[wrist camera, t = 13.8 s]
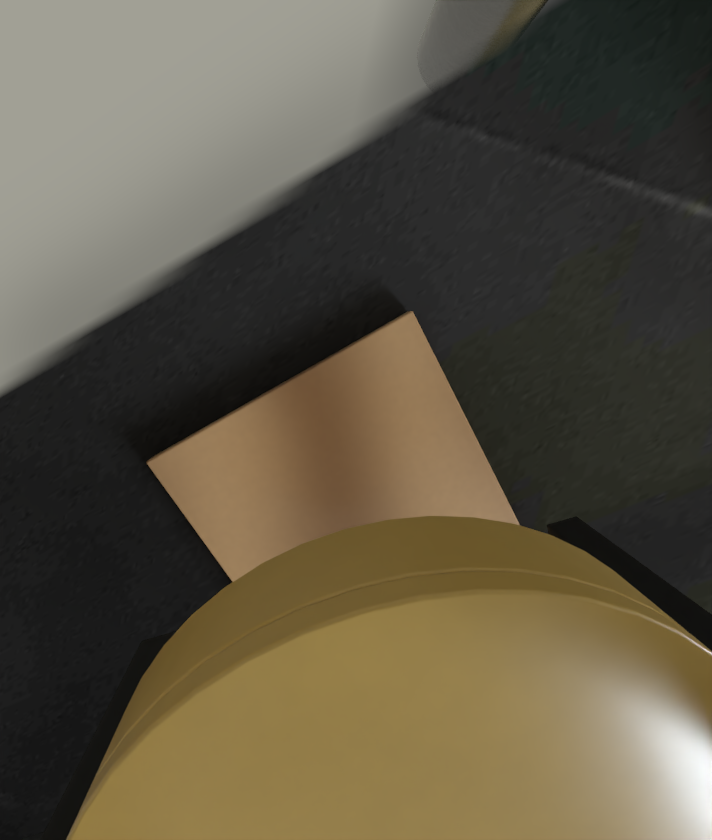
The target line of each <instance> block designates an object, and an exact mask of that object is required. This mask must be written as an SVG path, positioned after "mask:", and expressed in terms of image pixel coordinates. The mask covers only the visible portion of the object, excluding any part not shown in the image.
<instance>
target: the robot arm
mask: <svg viewBox="0 0 712 840" xmlns="http://www.w3.org/2000/svg"><path fill="white" fill-rule="evenodd" d="M547 528H548V534H549V535H552V536H554V537H556V538H558V539H560V540H563V541H565V542H567V543H569V544H571V545H573V546H575V547H577V548H579V549H582V550H584V551H585V552H587V553H588V554H590V555H591V556H593V557H594V558H596V559H597V560H599V561H600V562H602V563H603V564H605V565H606V566H608V567H609V568H611V569H612V570H614V571H615V572H616V573H617V574H618V575H620V576H621V577H622V578H623V579H625V580H626V581H627V582H628V583H629V584H631V585H632V586H633V587H634V588H636V589H637V590H638V591H639V592H640V593H642V594H643V595H644V596H645V597H646V598H648V599H649V600H650V601H651V602H653V603H654V604H655V605H656V606H657V607H659V608H660V609H661V610H662V611H664V612H665V613H666V614H667V615H668V616H670V617H671V618H672V619H673V620H674V621H676V622H677V623H678V624H679V625H681V626H682V627H683V628H684V629H685V630H686V631H687V632H689V633H690V634H692V635H693V636H694V637H695V638H696V639H698V640H699V641H700V642H701V643H702V644H704V645H705V646H706V647H707V648H709V649H710V650H711V651H712V615H711V614H710V613H709V612H707V611H706V610H704V609H703V608H702V607H700V606H699V605H698V604H696V603H695V602H693V601H692V600H691V599H689V598H688V597H687V596H685V595H684V594H682V593H681V592H680V591H678V590H677V589H676V588H674V587H673V586H671V585H670V584H669V583H667V582H666V581H665V580H663V579H662V578H660V577H659V576H658V575H656V574H655V573H653V572H652V571H651V570H649V569H648V568H647V567H645V566H644V565H642V564H641V563H640V562H638V561H637V560H636V559H634V558H633V557H631V556H630V555H629V554H627V553H626V552H625V551H623V550H622V549H620V548H619V547H618V546H616V545H615V544H613V543H612V542H611V541H609V540H608V539H607V538H605V537H604V536H602V535H601V534H600V533H598V532H597V531H596V530H594V529H593V528H591V527H590V526H589V525H587V524H586V523H585V522H583V521H582V520H580V519H579V518H578V517H573V518H570V519H566V520H563V521H559V522H556V523H552V524H549V525H547ZM174 634H175V633H174V632H172V633H168V634H165V635H161V636H158V637H154V638H151V639H147V640H144V641H142V642H141V644H140V646H139V648H138V650H137V652H136V654H135V655H134V657H133V659H132V661H131V663H130V665H129V667H128V669H127V671H126V673H125V675H124V677H123V679H122V681H121V683H120V685H119V687H118V689H117V691H116V693H115V695H114V697H113V699H112V701H111V702H110V704H109V706H108V708H107V710H106V712H105V714H104V716H103V718H102V720H101V722H100V724H99V726H98V728H97V730H96V732H95V734H94V736H93V738H92V740H91V742H90V744H89V746H88V747H87V749H86V751H85V753H84V755H83V757H82V759H81V761H80V763H79V765H78V767H77V769H76V771H75V773H74V775H73V777H72V779H71V781H70V783H69V785H68V787H67V789H66V791H65V793H64V794H63V796H62V798H61V800H60V802H59V804H58V806H57V808H56V810H55V812H54V814H53V816H52V818H51V820H50V822H49V824H48V826H47V828H46V830H45V832H42V833H39V834H36V835H32V836H29V837H26V838H23V839H22V840H66V839H67V837H68V835H69V832H70V830H71V828H72V826H73V824H74V821H75V819H76V817H77V815H78V813H79V811H80V808H81V806H82V804H83V802H84V800H85V797H86V795H87V793H88V791H89V789H90V787H91V784H92V782H93V780H94V778H95V776H96V773H97V771H98V769H99V767H100V765H101V762H102V760H103V758H104V756H105V754H106V752H107V749H108V747H109V745H110V743H111V741H112V738H113V736H114V734H115V732H116V730H117V728H118V725H119V723H120V721H121V719H122V717H123V714H124V712H125V710H126V708H127V706H128V704H129V702H130V700H131V698H132V696H133V694H134V692H135V690H136V688H137V686H138V684H139V682H140V680H141V678H142V676H143V675H144V674H145V672H146V671H147V669H148V668H149V666H150V665H151V663H152V662H153V660H154V659H155V658H156V656H157V655H158V653H159V652H160V650H161V649H162V647H163V646H164V645H165V644H166V643H167V642H168V640H169V639H170V638H171V637H172V636H173V635H174Z"/></svg>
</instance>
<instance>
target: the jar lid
mask: <svg viewBox="0 0 712 840" xmlns="http://www.w3.org/2000/svg"><path fill="white" fill-rule="evenodd" d="M66 840H712V651H711V650H710V649H709V648H707V647H706V646H705V645H704V644H702V643H701V642H700V641H699V640H698V639H696V638H695V637H694V636H693V635H692V634H690V633H689V632H687V631H686V630H685V629H684V628H683V627H682V626H681V625H679V624H678V623H677V622H676V621H674V620H673V619H672V618H671V617H670V616H668V615H667V614H666V613H665V612H664V611H662V610H661V609H660V608H659V607H657V606H656V605H655V604H654V603H653V602H651V601H650V600H649V599H648V598H646V597H645V596H644V595H643V594H642V593H640V592H639V591H638V590H637V589H636V588H634V587H633V586H632V585H631V584H629V583H628V582H627V581H626V580H625V579H623V578H622V577H621V576H620V575H618V574H617V573H616V572H615V571H614V570H612V569H611V568H609V567H608V566H606V565H605V564H603V563H602V562H600V561H599V560H597V559H596V558H594V557H593V556H591V555H590V554H588V553H587V552H585V551H584V550H582V549H579V548H577V547H575V546H573V545H571V544H569V543H567V542H565V541H563V540H560V539H558V538H556V537H554V536H552V535H549V534H546V533H543V532H539V531H536V530H533V529H530V528H526V527H523V526H520V525H517V524H512V523H506V522H500V521H494V520H488V519H482V518H476V517H454V516H423V517H412V518H401V519H390V520H384V521H380V522H375V523H370V524H366V525H361V526H356V527H352V528H347V529H343V530H340V531H338V532H335V533H332V534H329V535H326V536H323V537H320V538H317V539H314V540H311V541H308V542H306V543H303V544H301V545H299V546H297V547H294V548H292V549H290V550H288V551H286V552H284V553H282V554H280V555H278V556H276V557H274V558H272V559H270V560H268V561H266V562H263V563H262V564H260V565H259V566H257V567H256V568H254V569H252V570H251V571H249V572H248V573H246V574H245V575H243V576H242V577H240V578H239V579H237V580H235V581H234V582H232V583H231V584H229V585H228V586H226V587H225V588H223V589H222V590H221V591H220V592H219V593H217V594H216V595H215V596H214V597H213V598H212V599H210V600H209V601H208V602H207V603H206V604H204V605H203V606H202V607H201V608H200V609H198V610H197V611H196V612H195V613H194V614H192V615H191V616H190V618H189V619H188V620H187V621H186V622H185V623H184V624H183V625H182V626H181V627H180V628H179V630H178V631H177V632H176V633H175V634H174V635H173V636H172V637H171V638H170V639H169V640H168V642H167V643H166V644H165V645H164V646H163V647H162V649H161V650H160V652H159V653H158V655H157V656H156V658H155V659H154V660H153V662H152V663H151V665H150V666H149V668H148V669H147V671H146V672H145V674H144V675H143V676H142V678H141V680H140V682H139V684H138V686H137V688H136V690H135V692H134V694H133V696H132V698H131V700H130V702H129V704H128V706H127V708H126V710H125V712H124V714H123V717H122V719H121V721H120V723H119V725H118V728H117V730H116V732H115V734H114V736H113V738H112V741H111V743H110V745H109V747H108V749H107V752H106V754H105V756H104V758H103V760H102V762H101V765H100V767H99V769H98V771H97V773H96V776H95V778H94V780H93V782H92V784H91V787H90V789H89V791H88V793H87V795H86V797H85V800H84V802H83V804H82V806H81V808H80V811H79V813H78V815H77V817H76V819H75V821H74V824H73V826H72V828H71V830H70V832H69V835H68V837H67V839H66Z"/></svg>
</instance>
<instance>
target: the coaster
mask: <svg viewBox="0 0 712 840" xmlns="http://www.w3.org/2000/svg"><path fill="white" fill-rule="evenodd" d="M147 464H148V466H149V467H150V469H151V470H152V471H153V473H154V474H155V475H156V477H157V478H158V480H159V481H160V482H161V484H162V485H163V487H164V488H165V489H166V491H167V492H168V493H169V495H170V496H171V498H172V499H173V500H174V502H175V503H176V505H177V506H178V507H179V509H180V510H181V511H182V513H183V514H184V516H185V517H186V518H187V520H188V521H189V522H190V524H191V525H192V527H193V528H194V529H195V531H196V532H197V534H198V535H199V536H200V538H201V539H202V540H203V542H204V543H205V545H206V546H207V547H208V549H209V550H210V551H211V553H212V554H213V556H214V557H215V558H216V560H217V561H218V563H219V564H220V565H221V567H222V568H223V569H224V571H225V572H226V574H227V575H228V576H229V578H230V579H231V581H232V582H234V581H235V580H237V579H239V578H240V577H242V576H243V575H245V574H246V573H248V572H249V571H251V570H252V569H254V568H256V567H257V566H259V565H260V564H262V563H263V562H266V561H268V560H270V559H272V558H274V557H276V556H278V555H280V554H282V553H284V552H286V551H288V550H290V549H292V548H294V547H297V546H299V545H301V544H303V543H306V542H308V541H311V540H314V539H317V538H320V537H323V536H326V535H329V534H332V533H335V532H338V531H340V530H343V529H347V528H352V527H356V526H361V525H366V524H370V523H375V522H380V521H384V520H390V519H401V518H412V517H423V516H454V517H476V518H482V519H488V520H494V521H500V522H506V523H512V524H517V525H520V524H519V522H518V520H517V518H516V516H515V514H514V512H513V510H512V508H511V506H510V504H509V502H508V500H507V498H506V496H505V494H504V492H503V490H502V488H501V486H500V484H499V482H498V480H497V478H496V476H495V474H494V472H493V470H492V468H491V466H490V464H489V462H488V460H487V458H486V456H485V454H484V452H483V450H482V448H481V446H480V444H479V442H478V440H477V439H476V437H475V435H474V433H473V431H472V429H471V427H470V425H469V423H468V421H467V419H466V417H465V415H464V413H463V411H462V409H461V407H460V405H459V403H458V401H457V399H456V397H455V395H454V393H453V391H452V389H451V387H450V385H449V383H448V381H447V379H446V377H445V375H444V373H443V371H442V369H441V367H440V365H439V363H438V361H437V359H436V357H435V355H434V353H433V351H432V349H431V347H430V345H429V343H428V341H427V339H426V337H425V335H424V333H423V331H422V329H421V327H420V325H419V323H418V321H417V319H416V317H415V315H414V313H413V312H412V311H408V312H406V313H404V314H402V315H401V316H399V317H397V318H395V319H394V320H392V321H390V322H388V323H387V324H385V325H383V326H381V327H380V328H378V329H376V330H374V331H373V332H371V333H369V334H367V335H366V336H364V337H362V338H360V339H359V340H357V341H355V342H353V343H352V344H350V345H348V346H346V347H345V348H343V349H341V350H339V351H337V352H336V353H334V354H332V355H330V356H329V357H327V358H325V359H323V360H322V361H320V362H318V363H316V364H315V365H313V366H311V367H309V368H308V369H306V370H304V371H302V372H301V373H299V374H297V375H295V376H294V377H292V378H290V379H288V380H287V381H285V382H283V383H281V384H280V385H278V386H276V387H274V388H273V389H271V390H269V391H267V392H265V393H264V394H262V395H260V396H258V397H257V398H255V399H253V400H251V401H250V402H248V403H246V404H244V405H243V406H241V407H239V408H237V409H236V410H234V411H232V412H230V413H229V414H227V415H225V416H223V417H222V418H220V419H218V420H216V421H215V422H213V423H211V424H209V425H208V426H206V427H204V428H202V429H201V430H199V431H197V432H195V433H194V434H192V435H190V436H188V437H186V438H185V439H183V440H181V441H179V442H178V443H176V444H174V445H172V446H171V447H169V448H167V449H165V450H164V451H162V452H160V453H158V454H157V455H155V456H153V457H152V458H150V459H149V460H148V461H147Z"/></svg>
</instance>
